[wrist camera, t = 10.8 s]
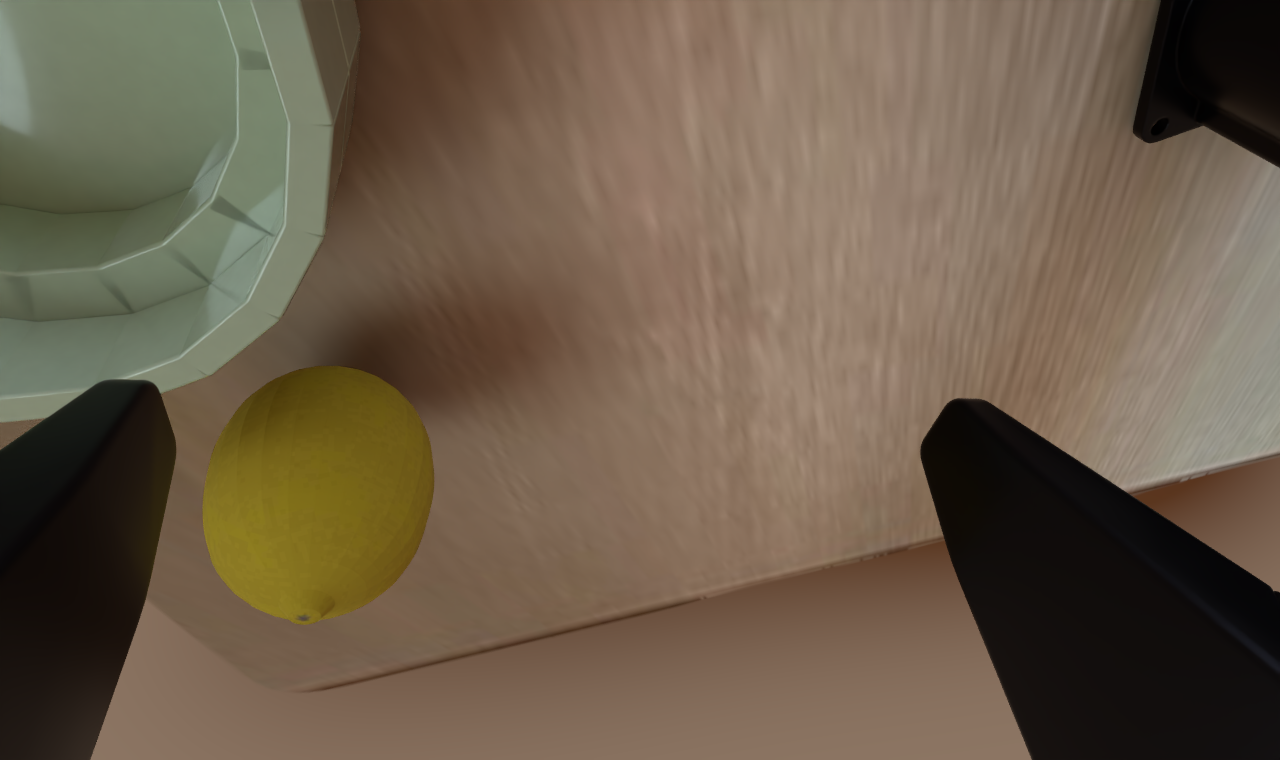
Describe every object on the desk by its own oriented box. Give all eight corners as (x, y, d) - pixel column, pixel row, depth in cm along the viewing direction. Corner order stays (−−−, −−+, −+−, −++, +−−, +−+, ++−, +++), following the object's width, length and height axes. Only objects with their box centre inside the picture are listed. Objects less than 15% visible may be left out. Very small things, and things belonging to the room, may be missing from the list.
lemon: (397, 290, 20) (376, 521, 14) (458, 421, 24) (461, 644, 18) (201, 335, 20) (101, 588, 14) (295, 459, 24) (246, 698, 18)
